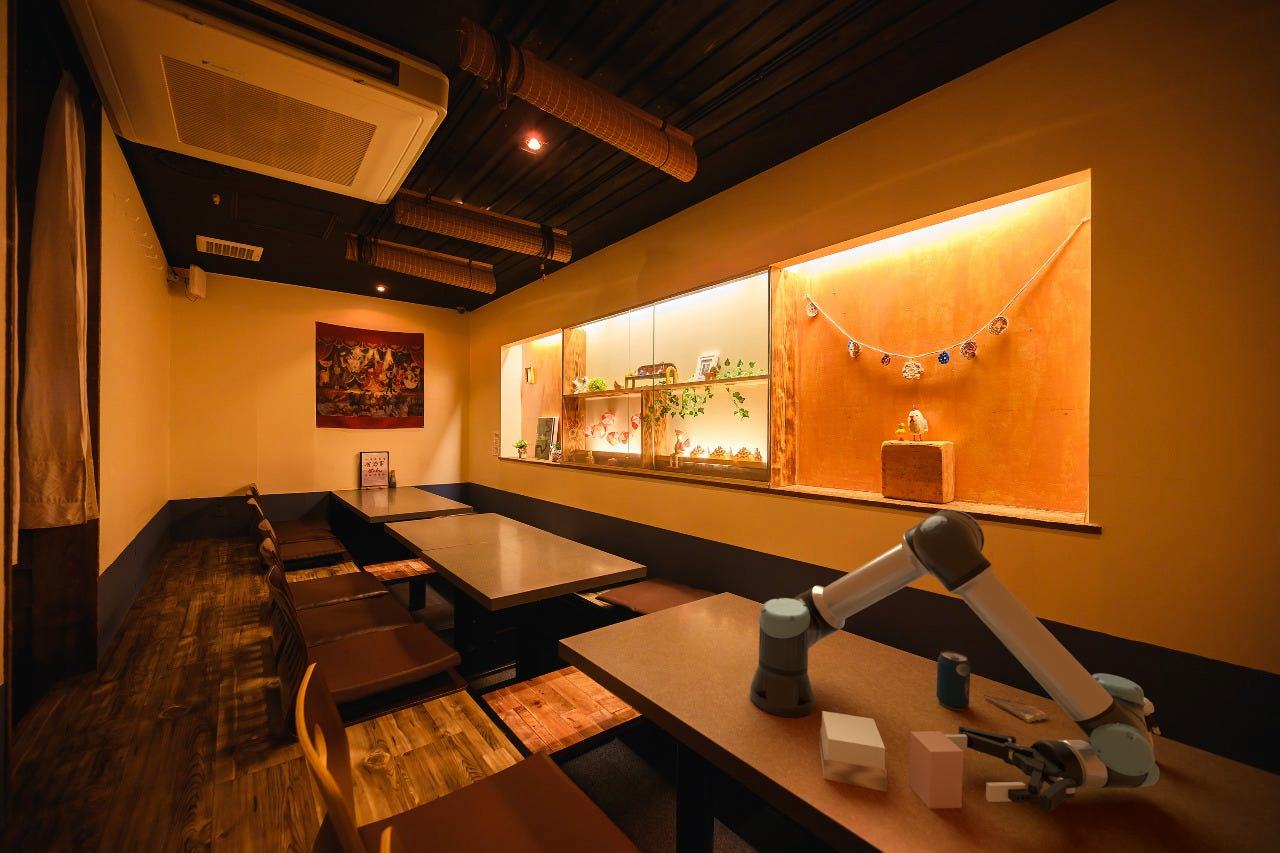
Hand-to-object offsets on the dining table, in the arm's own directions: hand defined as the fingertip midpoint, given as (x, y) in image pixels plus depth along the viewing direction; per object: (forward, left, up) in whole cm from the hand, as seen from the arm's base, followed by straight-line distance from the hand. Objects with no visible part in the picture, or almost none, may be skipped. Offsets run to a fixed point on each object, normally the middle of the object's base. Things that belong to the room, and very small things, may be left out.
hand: (959, 765), depth 93 cm
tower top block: (-18, +3, -2) cm, 18 cm away
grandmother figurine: (+42, +26, -6) cm, 50 cm away
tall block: (-4, -1, -6) cm, 7 cm away
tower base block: (-18, +3, -6) cm, 19 cm away
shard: (+24, +38, -7) cm, 45 cm away
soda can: (+10, +37, -6) cm, 39 cm away
